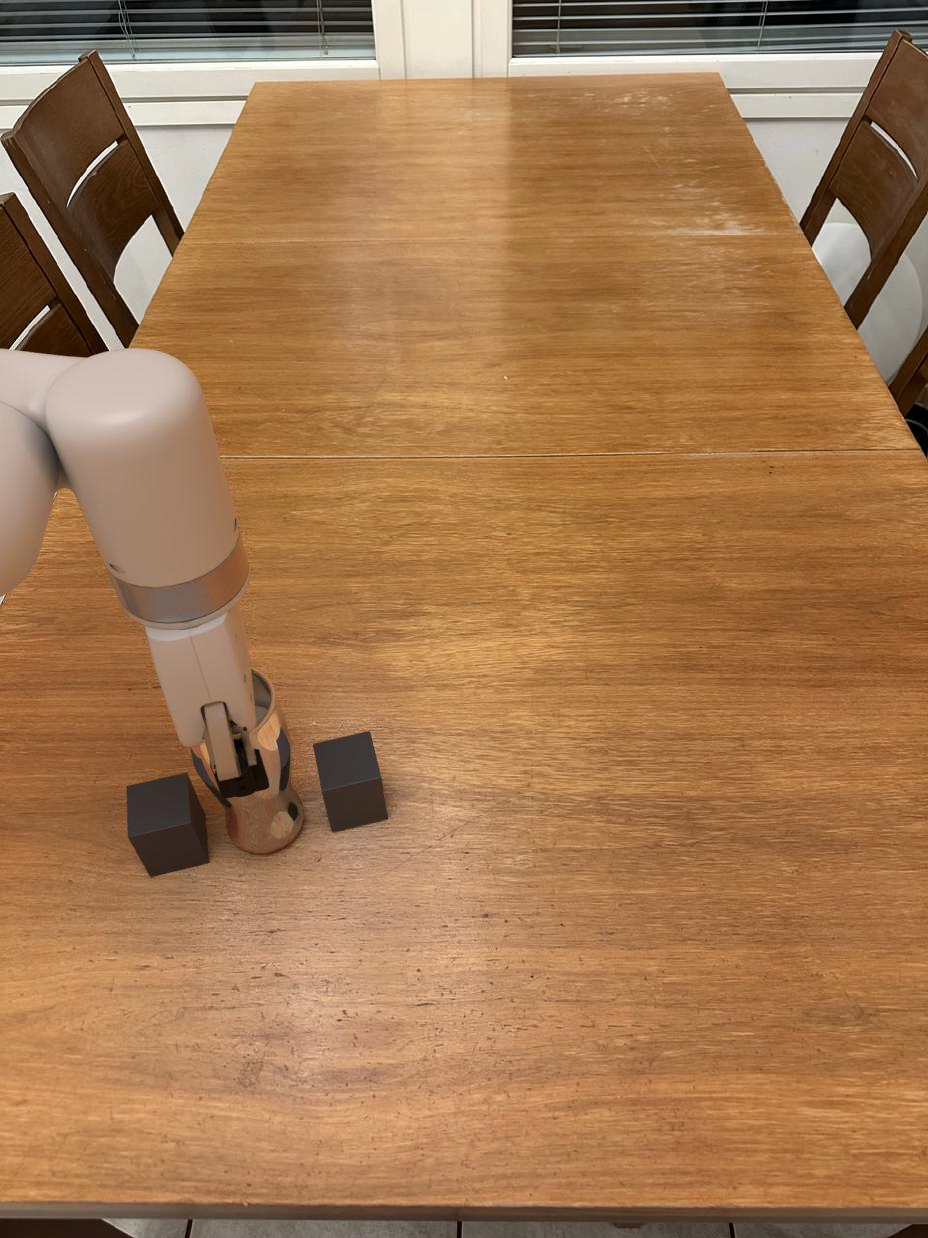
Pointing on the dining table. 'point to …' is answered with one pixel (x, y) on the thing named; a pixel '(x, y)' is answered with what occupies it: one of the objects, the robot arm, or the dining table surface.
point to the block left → (167, 824)
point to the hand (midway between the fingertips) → (240, 744)
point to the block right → (350, 781)
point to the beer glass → (279, 808)
